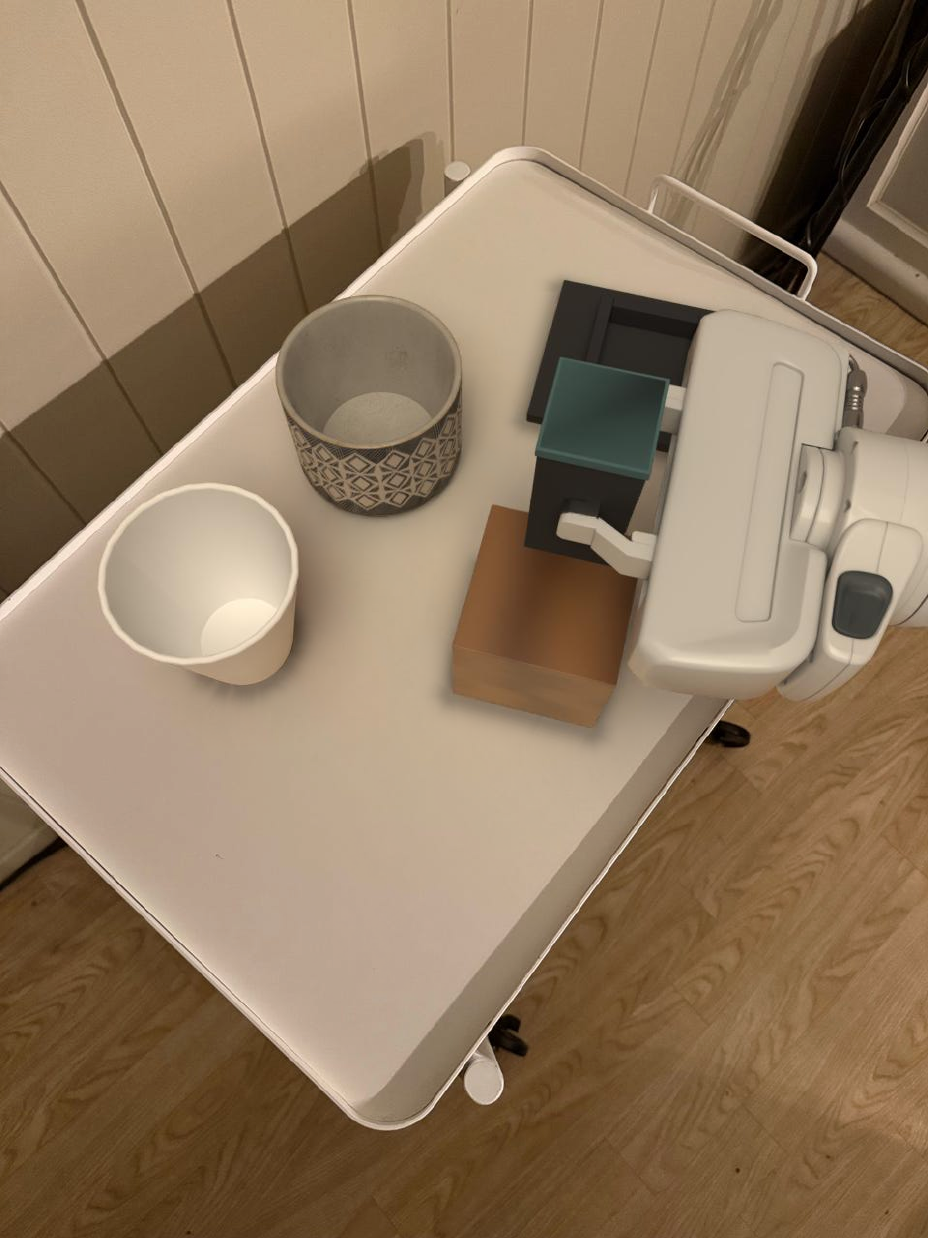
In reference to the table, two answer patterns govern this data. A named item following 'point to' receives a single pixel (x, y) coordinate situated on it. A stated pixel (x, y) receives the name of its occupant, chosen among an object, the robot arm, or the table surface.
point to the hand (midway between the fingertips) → (573, 462)
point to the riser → (540, 627)
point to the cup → (204, 582)
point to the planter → (373, 402)
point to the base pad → (616, 338)
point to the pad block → (593, 449)
